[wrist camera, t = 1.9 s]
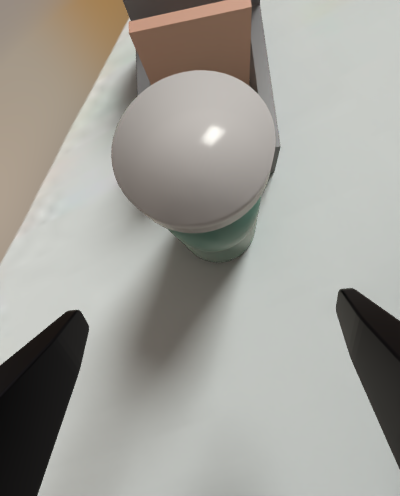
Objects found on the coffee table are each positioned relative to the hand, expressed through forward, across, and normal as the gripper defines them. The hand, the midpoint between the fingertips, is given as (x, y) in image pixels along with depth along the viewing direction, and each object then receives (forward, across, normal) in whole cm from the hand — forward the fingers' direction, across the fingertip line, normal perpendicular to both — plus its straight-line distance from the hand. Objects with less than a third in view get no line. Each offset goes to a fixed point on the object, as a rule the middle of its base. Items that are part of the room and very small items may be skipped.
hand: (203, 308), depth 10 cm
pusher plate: (+20, 0, -2) cm, 20 cm away
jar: (+13, 0, +4) cm, 14 cm away
